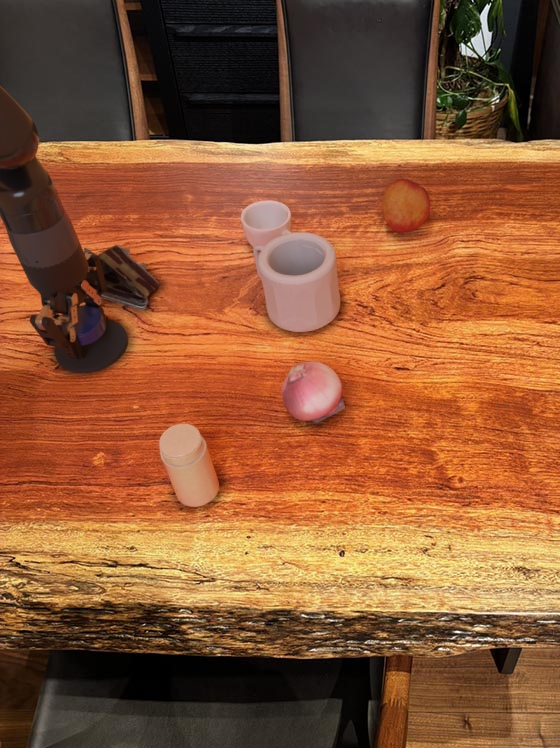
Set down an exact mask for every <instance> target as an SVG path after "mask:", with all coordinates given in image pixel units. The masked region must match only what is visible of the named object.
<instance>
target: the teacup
mask: <svg viewBox="0 0 560 748" xmlns="http://www.w3.org/2000/svg"><path fill="white" fill-rule="evenodd" d="M240 222H241V223H240V224H241V227H242V230H243V233H244V237H245V239H246V241H247V243H248V244H249V245H250V246H251V247H252V248H253V247H254V246H256V245H260V246H265V245H266V244H267V243H268V242H270V241H271V240H273V239H274V238H276V237H278V236H281V235H284V234H287V233H293V232H292V212H291V210H290V208H289V207H288V206H287V205H286V204H285V203H283V202H280V201H277V200H272V199H270V200H269V199H265V200H259V201H255V202H253V203H251V204H249V205H247V206H246V207H245V208H243V210H242V212H241V214H240Z"/></svg>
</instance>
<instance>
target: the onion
mask: <svg viewBox="0 0 560 748" xmlns="http://www.w3.org/2000/svg"><path fill="white" fill-rule="evenodd" d="M342 394H343V383H342V381H341V379H340V377H339V376H338V374H337V373H336V372H335V370H334V369H332V368H331V367H330V366H329V365H326V364H324V363H322V362H319V361H316V360H315V361H314V360H312V361H304V362H298V363H296V364H295V365H293V366H292V367H291V368H290V370H289V371H288V373H287V375H286V376H285V378H284V381H283V382H282V385H281V398H282V404H283V405H284V408H285V410H286V411H287V412H288V413H289V415H290V416H291V417H292V418H293V419H296V420H298V421H304V422H309V421H310V422H312V423H313V424H318V423H320V422H322V421H324V420H326V419H328V418H330V417H331V416H333V415H335V414H337V413H339V412H341V411H343V410H345V409H346V405H345V402H344V398H343V396H342Z"/></svg>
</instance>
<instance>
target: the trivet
mask: <svg viewBox="0 0 560 748" xmlns="http://www.w3.org/2000/svg"><path fill="white" fill-rule="evenodd" d="M106 321H107V324H106V328H105V332H104V333H103V335H102V336H101V337H100V338H99V339H98V340H96V341H95V342H93V343H90V344H87V345H83V346H82V349H83V351H84V353H85V356H84V357H83V359H75V358H70V357H67V356H66V354H65V351H64V349H63V348H58V347H54V350H53V351H54V352H53V353H54V357H55V359H56V361H57V363H58V365H59V366H60V367H61V368H62V369H63V370H66V371H67V372H70V373H73V374H79V375H82V374H92V373H93V374H94V373H97V372H100V371H103V370H105V369H107V368H109V367H111V366H113V365H114V364H115V363H116V362H118V361H119V360H120V359H121V358H122V357H123V355H125V353H126V351H127V349H128V345H129V337H128V334H127V332H126V330H125V328H124V327H123V325H121V324H120V323H119V322H117V321H114V320H112V319H110V318H109V319H108V318H106Z"/></svg>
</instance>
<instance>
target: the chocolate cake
mask: <svg viewBox="0 0 560 748" xmlns="http://www.w3.org/2000/svg"><path fill="white" fill-rule="evenodd" d="M83 252H84V253H88V254H93V255H98V256H99V258H100V262H101V266H102V270H103V274H104V278H105V282H106V286H107V291H106V293H102V295H101V298H102V299H104V300H107V301H111V302H113V303H117V304H122V305H125V306H128V307H131V308H134V309H137V310H145V309H146V308H147V307H148V306H147V305H148V302H149V298H148V297H149V295H151V294H153V293H154V292H155V291H156V290H157V289H159V288H160V284H159V281H158V280H157V279H156V278H155V276H154V275H152V274H151V273H150V272H149V271H148V270H147V267H148V265H147V264H146V263H145V262H141V263H138V262H137V260H136V259H134V258H133V257H132V256H131V255H130V253H131V250H130V248H128V247H122V246H121V245H119V244H115V245H113V246H111V247H109V248H107V249H105V250H103V251H102V252H100V253H98V254H97V253H94V252H93V251H92V250H90V249H89V248H87V247H84V248H83ZM93 282H94V283H95V284H97V280H96V279H93Z"/></svg>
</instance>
